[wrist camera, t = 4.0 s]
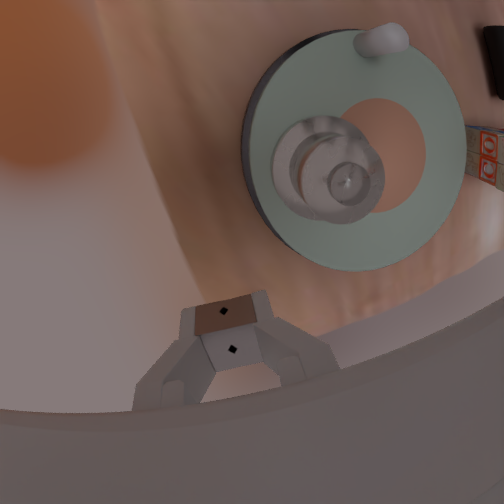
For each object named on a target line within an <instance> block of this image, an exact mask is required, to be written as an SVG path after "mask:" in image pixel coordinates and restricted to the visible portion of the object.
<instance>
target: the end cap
mask: <svg viewBox="0 0 504 504" xmlns="http://www.w3.org/2000/svg"><path fill="white" fill-rule="evenodd" d="M484 35H485V39H486V42H487V46H488V50H489V54H490V58H491V63H492V67H493V72H494V77H495V83H496V88H497V94H498V96H499V98H500V99H501V100H504V26H486V27H484Z"/></svg>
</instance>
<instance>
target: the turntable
mask: <svg viewBox="0 0 504 504" xmlns="http://www.w3.org/2000/svg"><path fill="white" fill-rule="evenodd" d="M316 115H326V116H334V117H338V118H341V119H344V120H346V121H348V122H350V123H352V124H353V125H355V126H356V127H357V128H358V129H359V130H360V131H361V132H362V133H363V134H364V136H365V137H366V139H367V140H368V142H369V144H370V146H372V147H373V148H374V149H375V150H376V152H377V153H378V155H379V156H380V158H381V160H382V163H383V166H384V170H385V186H384V190H383V193H382V196H381V198H380V200H379V202H378V204H377V205H376V206H375V208H374V209H373V210H372V211H371V212H370V213H369V214H368V215H367V216H365V217H364V218H362V219H361V220H358V221H356V222H353V223H350V224H342V225H339V224H333V223H329V222H326V221H316V220H310V219H307V218H304V217H301V216H299V215H298V214H296V213H294V212H293V211H292V210H290V209H289V208H288V207H287V206H286V205H285V203H284V202H283V201H282V199H281V198H280V197H279V195H278V194H277V192H276V190H275V188H274V185H273V182H272V179H271V172H270V162H271V156H272V152H273V149H274V147H275V145H276V143H277V141H278V139H279V138H280V136H281V135H282V134H283V132H284V131H285V130H286V129H287V128H288V127H290V126H291V125H292V124H294V123H295V122H297V121H299V120H301V119H303V118H306V117H310V116H316ZM248 143H249V166H250V172H251V178H252V182H253V185H254V189H255V192H256V195H257V197H258V199H259V202H260V204H261V206H262V209H263V211H264V213H265V215H266V216H267V218H268V219H269V221H270V223H271V224H272V226H273V228H274V229H275V230H276V231H277V233H278V234H279V235H280V236H281V237H282V239H283V240H284V241H285V242H286V243H287V244H288V245H290V246H291V247H292V248H293V249H294V250H295V251H296V252H298V253H299V254H301V255H302V256H304V257H305V258H307V259H309V260H311V261H313V262H315V263H317V264H319V265H322V266H325V267H328V268H331V269H336V270H342V271H368V270H374V269H378V268H383V267H386V266H388V265H391V264H394V263H396V262H398V261H400V260H402V259H404V258H406V257H408V256H409V255H411V254H412V253H414V252H415V251H417V250H418V249H419V248H420V247H422V246H423V245H424V244H425V243H426V242H427V241H428V240H429V239H430V238H431V237H432V236H433V235H434V234H435V233H436V232H437V231H438V229H439V228H440V227H441V225H442V224H443V223H444V221H445V220H446V218H447V216H448V215H449V213H450V212H451V210H452V208H453V206H454V203H455V201H456V199H457V197H458V194H459V191H460V188H461V185H462V181H463V177H464V172H465V165H466V152H467V144H466V132H465V126H464V120H463V116H462V113H461V110H460V106H459V104H458V101H457V99H456V97H455V94H454V92H453V90H452V89H451V87H450V85H449V83H448V81H447V80H446V79H445V77H444V76H443V74H442V73H441V72H440V70H439V69H438V68H437V67H436V66H435V65H434V64H433V63H432V62H431V60H430V59H429V58H427V57H426V56H425V55H424V54H423V53H421V52H420V51H419V50H418V49H416V48H414V47H413V46H411V45H410V44H409V36H408V34H407V32H406V31H405V29H404V28H403V27H402V26H400V25H399V24H397V23H393V22H391V23H387V24H384V25H381V26H378V27H375V28H373V29H370V30H367V31H365V30H353V31H343V32H338V33H333V34H330V35H327V36H324V37H322V38H319V39H317V40H315V41H313V42H311V43H309V44H308V45H306V46H304V47H303V48H301V49H299V50H298V51H296V52H295V53H294V54H292V55H291V56H290V57H289V58H288V59H287V60H285V61H284V62H283V63H282V64H281V65H280V67H279V68H278V69H277V70H276V71H275V72H274V74H273V75H272V76H271V78H270V79H269V81H268V82H267V84H266V86H265V87H264V89H263V91H262V93H261V95H260V97H259V100H258V102H257V104H256V107H255V110H254V114H253V118H252V121H251V126H250V134H249V142H248Z"/></svg>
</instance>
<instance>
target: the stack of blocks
mask: <svg viewBox="0 0 504 504" xmlns="http://www.w3.org/2000/svg"><path fill="white" fill-rule="evenodd" d="M465 132H466V144H467V152H466V165H465V173H467V174H470V175H472V176H474V177H477V178H479V179H480V180H482V181H484V182H487V183H489V184H491V185H493V186H496V188H497V189H499V190H501V191H503V192H504V129H495V128H491V127H482V126H478V127H477V126H465Z"/></svg>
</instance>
